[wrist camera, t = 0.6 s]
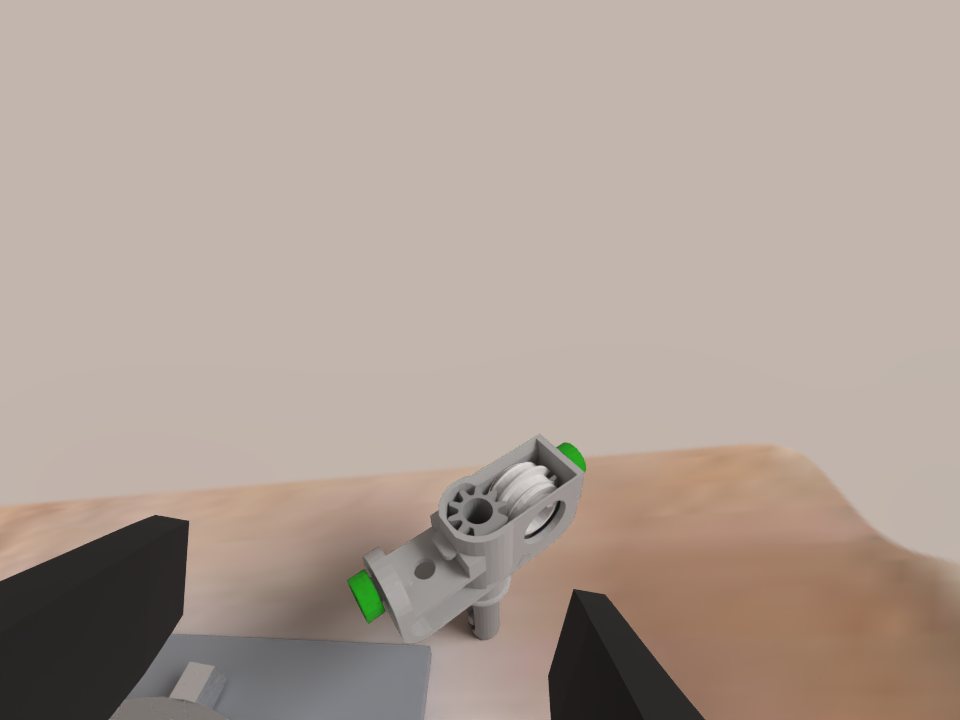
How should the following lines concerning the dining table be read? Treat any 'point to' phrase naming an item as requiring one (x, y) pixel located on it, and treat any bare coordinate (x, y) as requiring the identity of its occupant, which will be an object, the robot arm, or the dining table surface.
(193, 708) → the sprocket
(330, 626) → the dining table surface
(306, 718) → the index board
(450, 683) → the dining table surface
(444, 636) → the dining table surface
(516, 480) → the mechanical component
